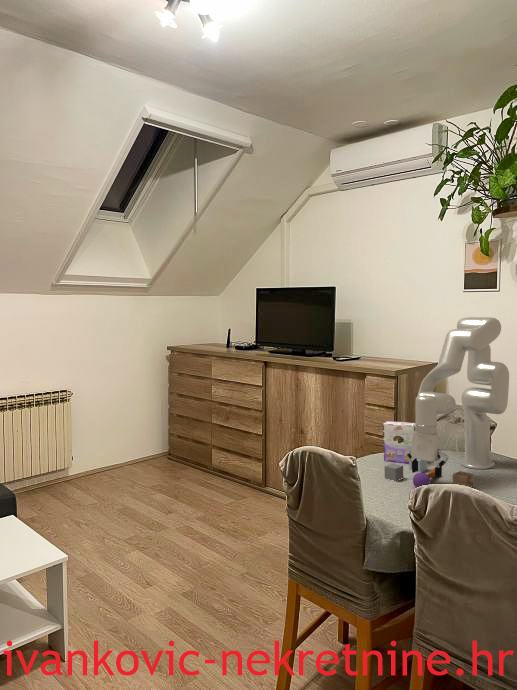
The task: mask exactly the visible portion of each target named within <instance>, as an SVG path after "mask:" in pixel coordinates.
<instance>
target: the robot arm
mask: <svg viewBox="0 0 517 690" xmlns="http://www.w3.org/2000/svg"><path fill="white" fill-rule="evenodd" d="M501 333H502V324H501V322H500V320H499V319H497V318H496V317H489V316H488V317H486V316H485V317H484V316H482V317H478V316H477V317H476V316H473V317H472V316H471V317H469V316H467V317H463V318H460V319H459V320H458V321H457V323H456V328H454V329H451V330H449V331H448V332H447V333H446V335H445V339H444V342H443V345H442V349H441V353H440V356H439V360H438V362H437V365H436V366H435V367H434V368H432V369H431V370H430V371H429V372H428V373H427V375H426V376H424V378H423V379H422V381H421V383H420V386H419V388H418V392H417V396H416V397H415V402H414V403H415V422H414V423H415V424H413V427H414V428H415V430H416V431H414V433H413V437H412V445H411V447H409V448H406V449H405V450H406V452H407V456H408V457H409V458H410V461H411V462H412V471H411V473H418V472H417V471H418V461H417V459H420V460H424V461H427V462H430V463H434V465H435V467H434V468H435V477H434V478H435V479H438V478H441V477H442V474H443V466H445V464H447V462H448V459H449V455H448V454H446V453H445V452H443V451H442V449H441V447H442V446H441V440H440V436H439V433H438V415H447V414H451V413H452V412H453V411H454V410H455V408H456V406H457V401H456V400H455V399H456V398H454V397H453V396H452V395H451V394H448V393H443V392H442V393H441V392H434V389H435V387H436V386H437V385H438V384H439V383H440V382H441V381H443V380H444V379H447V378H449V377H451V376H454V375H457V374H459V373H460V372H461V369H462V366H463V362H464V360H465V357H466V352H467V367H466V368H467V369H466V377H467V380H468V382H470V383H472V384H475V385H481V386H490V388H485V387H475V386H473V387H468V388H465V389H464V390H463V392H462V394H461V396H460V397H461V405H462V408H463V409H462V411H463V419H464V420H463V421H464V423H463V424H464V458H463V459H461V461H460V463H461V466H463V467H466V468H469V469H475V470H487V469H488V470H489V469H492V468H493V467H495V462H494V461H493V460H491V457H492V456H494V452H493V451H491V430H490V429H491V427H490V426H491V425H490V424H491V423H490V419H489V417H488V415H487V414H491V415H492V414H493V415H501V414H504V413H505V412H506V411H507V409H508V408H507V407H508V403H509V388H510V386H509V385H510V371H509V368H508V367H507V365H506V364H504V362H500V361H492V360H491V359H492V358H491V355H492V354H491V353H492V349H491V346H490V344H492V343H493V342H494V341H495V340H497V338H498V337H499V336H500V334H501ZM441 458H442V459H441Z"/></svg>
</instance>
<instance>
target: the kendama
mask: <svg viewBox="0 0 517 690" xmlns="http://www.w3.org/2000/svg"><path fill="white" fill-rule="evenodd" d="M431 478H435V467H433V468H432V469H431V470H430V471H429V473H425V472H420V473H419V472H416V473H415V474H414V475H413V477H412V484H413V485H414V487H415V488H416V487H419V486H422V485H428V484H429V485H431Z"/></svg>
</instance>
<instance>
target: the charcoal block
mask: <svg viewBox="0 0 517 690" xmlns="http://www.w3.org/2000/svg"><path fill="white" fill-rule="evenodd" d="M385 478H386V479H385ZM401 478H403V479H404V465H400V464H397V463H394V462H391V463H389V464H387V465H385V466H384V479H385V480H387V479H390V480H389V481H391V480H394V481H393V482H395V481H396V482H398V481H400V480H399V479H401ZM397 480H398V481H397ZM401 480H402V479H401Z"/></svg>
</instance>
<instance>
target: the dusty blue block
mask: <svg viewBox="0 0 517 690" xmlns="http://www.w3.org/2000/svg"><path fill="white" fill-rule="evenodd" d="M417 461H418V471H417V472H416V473H419V472H422V473H424V472H426V471H428V461H424V460H420V459H417ZM408 467H409V469H408V470H409V471H410V470H412V462H411V461H410V458H409V463H408ZM425 470H426V471H425Z"/></svg>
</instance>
